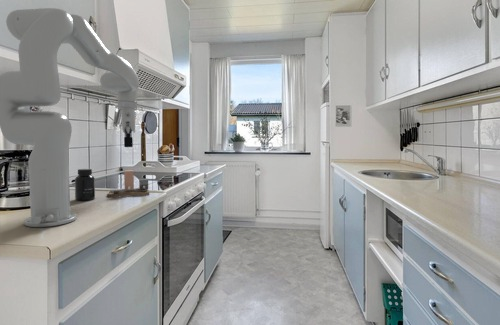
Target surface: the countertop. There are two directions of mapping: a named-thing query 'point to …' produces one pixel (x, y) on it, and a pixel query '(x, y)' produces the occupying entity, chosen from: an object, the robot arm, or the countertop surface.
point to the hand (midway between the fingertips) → (128, 146)
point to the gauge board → (135, 192)
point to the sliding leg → (128, 179)
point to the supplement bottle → (84, 185)
